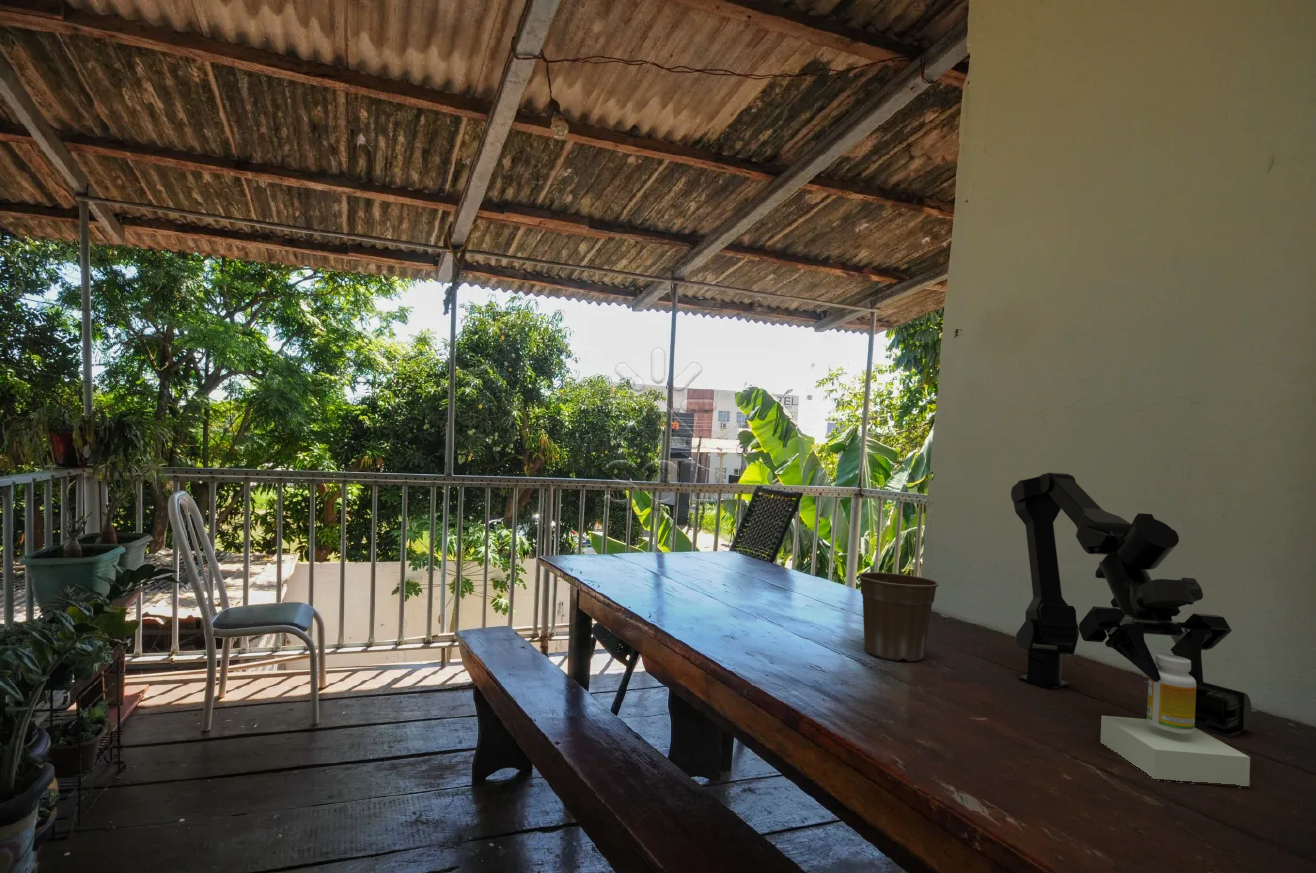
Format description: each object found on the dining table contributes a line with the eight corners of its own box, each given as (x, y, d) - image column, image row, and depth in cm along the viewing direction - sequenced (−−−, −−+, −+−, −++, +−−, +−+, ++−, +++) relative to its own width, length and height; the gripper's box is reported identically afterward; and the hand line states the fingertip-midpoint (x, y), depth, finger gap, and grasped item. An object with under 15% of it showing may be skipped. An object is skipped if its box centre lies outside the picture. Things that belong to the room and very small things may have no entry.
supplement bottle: (1204, 734, 94) (1207, 663, 94) (1172, 735, 93) (1176, 663, 93) (1167, 718, 99) (1170, 651, 99) (1137, 719, 98) (1140, 651, 98)
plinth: (1100, 742, 102) (1101, 715, 102) (1184, 749, 101) (1184, 722, 101) (1153, 779, 90) (1154, 749, 90) (1249, 788, 89) (1250, 757, 89)
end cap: (1251, 732, 110) (1252, 690, 110) (1232, 739, 107) (1233, 696, 107) (1179, 711, 119) (1180, 672, 119) (1159, 716, 115) (1160, 676, 115)
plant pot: (868, 639, 156) (872, 568, 157) (943, 654, 147) (946, 579, 147) (843, 653, 143) (847, 576, 143) (923, 671, 133) (927, 588, 134)
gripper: (1093, 552, 101) (1137, 648, 90) (1224, 560, 100) (1286, 659, 89) (1062, 593, 109) (1099, 687, 97) (1184, 602, 108) (1236, 697, 96)
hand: (1178, 682), depth 95 cm, fingers closed on supplement bottle, 5 cm apart
